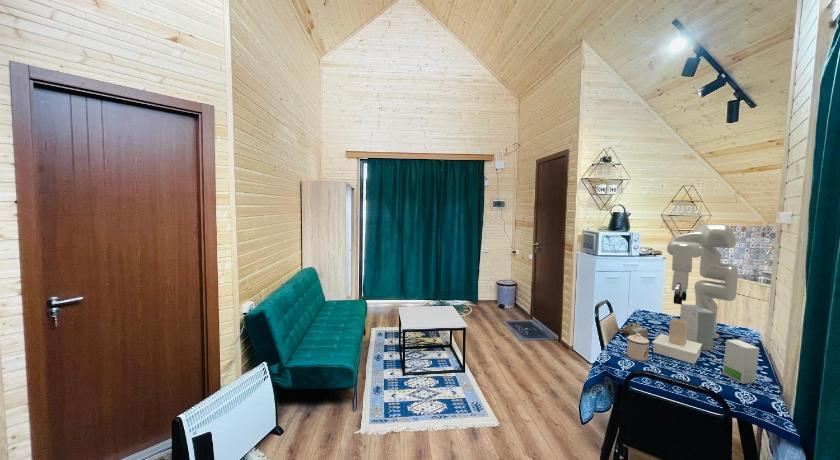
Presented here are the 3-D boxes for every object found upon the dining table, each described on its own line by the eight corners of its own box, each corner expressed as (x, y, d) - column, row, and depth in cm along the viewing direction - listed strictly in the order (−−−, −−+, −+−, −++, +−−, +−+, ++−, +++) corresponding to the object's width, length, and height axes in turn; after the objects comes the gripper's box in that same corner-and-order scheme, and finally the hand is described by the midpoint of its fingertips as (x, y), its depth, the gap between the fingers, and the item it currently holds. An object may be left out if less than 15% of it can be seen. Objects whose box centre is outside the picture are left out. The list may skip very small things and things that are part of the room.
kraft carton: (671, 339, 163) (672, 318, 163) (686, 343, 159) (687, 321, 158) (668, 342, 160) (669, 320, 159) (683, 346, 156) (685, 323, 155)
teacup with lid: (648, 363, 149) (650, 339, 148) (625, 358, 154) (627, 334, 153) (648, 353, 159) (649, 331, 158) (626, 349, 164) (627, 327, 163)
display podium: (660, 343, 172) (661, 333, 171) (701, 354, 159) (702, 343, 159) (651, 352, 161) (652, 342, 160) (695, 364, 148) (696, 353, 148)
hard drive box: (713, 351, 162) (715, 313, 161) (696, 350, 164) (698, 312, 162) (693, 339, 177) (695, 304, 176) (678, 338, 179) (680, 303, 178)
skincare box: (722, 373, 140) (724, 339, 139) (735, 373, 140) (738, 339, 139) (742, 384, 131) (745, 347, 130) (757, 383, 132) (760, 347, 131)
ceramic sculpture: (638, 326, 172) (616, 318, 187) (638, 342, 172) (616, 333, 187) (654, 325, 175) (631, 318, 189) (654, 341, 175) (631, 332, 189)
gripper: (676, 265, 166) (674, 297, 167) (668, 269, 154) (666, 303, 156) (694, 267, 160) (692, 300, 161) (688, 271, 149) (685, 307, 150)
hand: (679, 302), depth 158 cm, fingers open, 9 cm apart
